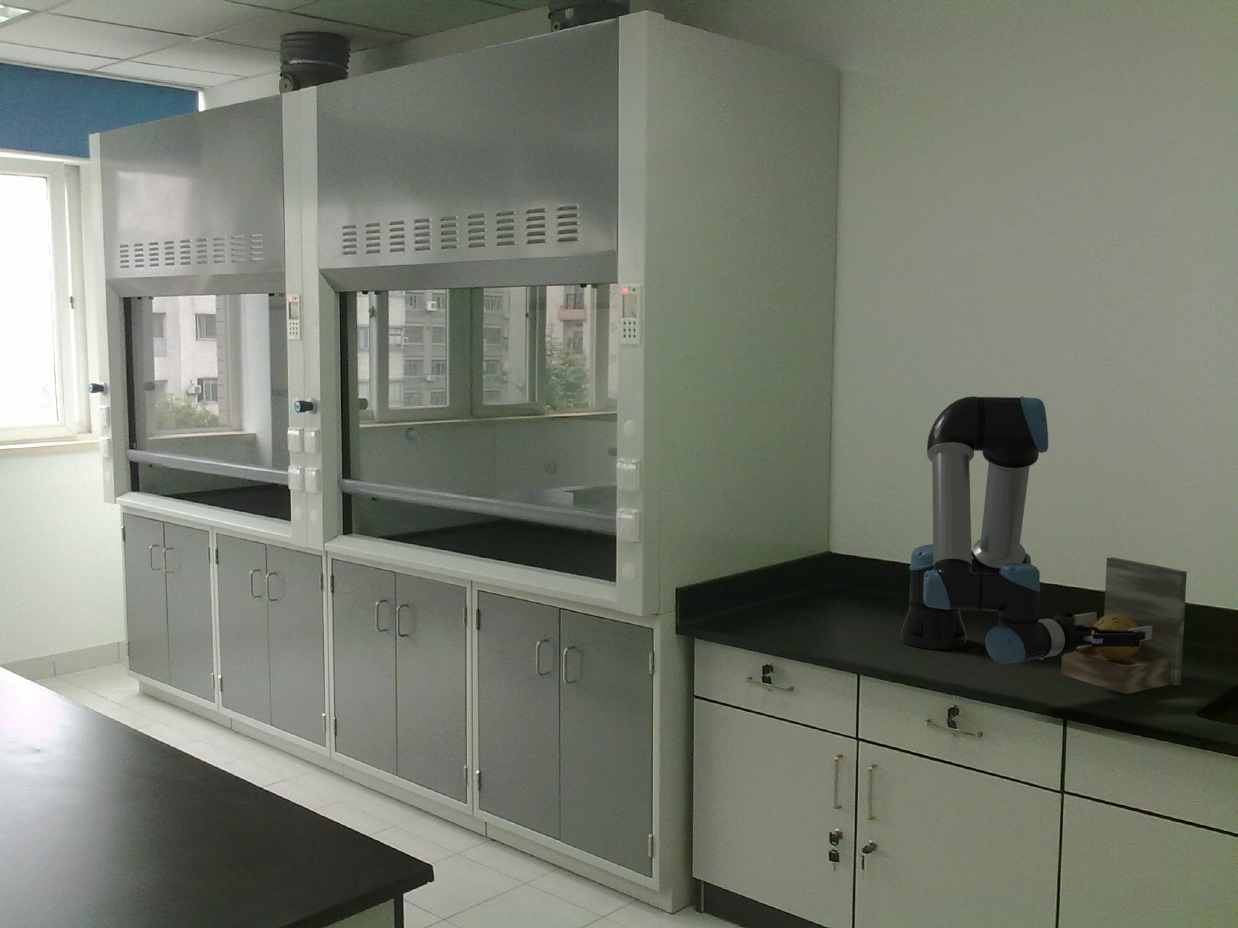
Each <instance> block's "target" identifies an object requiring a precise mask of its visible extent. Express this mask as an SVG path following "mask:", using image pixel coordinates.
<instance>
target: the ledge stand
mask: <svg viewBox="0 0 1238 928" xmlns="http://www.w3.org/2000/svg"><path fill="white" fill-rule="evenodd" d="M1105 568H1106V569H1105V587H1104V590H1105V591H1104V610H1103V611H1104V612H1103V616H1105V615H1109V614H1121V615H1124V616H1127V617H1129V618H1130V619H1132V620H1133V621H1134V622H1135V623H1136V624H1137V626H1138V627H1144V626H1152V639H1150V640H1145V641H1141V645H1140V648H1139V650H1138V651H1137V652H1136V654H1135V655H1133V656H1132V657H1131V658H1128V659H1126V660H1123V661H1122V662H1111V661H1109V660H1108V659H1107V658H1105V657H1103V656H1101V655H1100V654H1099V653H1098V652H1097V651H1096V650H1095V648H1094V647H1092V644H1085V645H1078V646H1077V648H1076V649H1075V650H1074V651H1073V652H1071V653H1068V654H1063V655H1061V671H1060V674H1061V675H1062V676H1064V677H1065V676H1066V677H1068V678H1072V679H1075V680H1078V681H1081V682H1085V683H1086V684H1091V685H1094V686H1098V687H1101V688H1104V689H1106V690H1110V691H1113V692H1116V693H1120V694H1123V695H1128V694H1133V693H1136V692H1137V693H1138V692H1143V691H1147V690H1151V689H1157V688H1161V687H1165V686H1173V687H1175V686H1181V683H1182V670H1183V669H1182V666H1183V648H1184V629H1185V615H1186V613H1185V610H1186V596H1187V595H1186V592H1187V576H1188V575H1187V573H1188V571H1186V570H1182V569H1176V568H1171V567H1165V566H1161V565H1156V564H1150V563H1147V562H1145V563H1144V562H1140V561H1134V560H1129V559H1124V558H1119V557H1114V556H1113V557H1112V556H1110V557H1107V558H1106V567H1105Z"/></svg>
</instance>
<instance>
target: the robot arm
mask: <svg viewBox="0 0 1238 928" xmlns="http://www.w3.org/2000/svg"><path fill="white" fill-rule="evenodd" d="M1045 407H1046V406H1045V403H1044V402H1043V401H1042V400H1041V398H1037V397H1026V396H1025V397H1024V396H1023V395H1022V396H1020V397H1007V396H1001V397H1000V396H975V395H972V396H966V397H962V398H959V399H957V400H954V402H952V403H950V404H949V405H947V407H945V408H944V409H943V410H942V411H941V413H940V414H939V415H938V416H937V418H936V419H935V421H934V423H933V425H932V427H931V429H930V432H929V433H928V434H929V435H928V437H927V445H926V446H927V447H926V451H927V452H926V454H927V455H926V456H927V459H928V461H930V462H931V463H932V464H931V465H932V466H931V467H932V476H931V477H932V481H931V482H932V543H931V544H925V545H921V546H918V547H915V548H914V550H912V551H911V555H910V565H909V571H910V576H909V577H910V579H909V582H910V583H909V601H908V605H909V606H908V611H907V613H906V616H905V619H904V621H903V624H902V627H901V631H900V641H901V642H902V643H904V644H906V645H908V646H912V647H916V648H923V649H928V650H954V649H960V648H963V647H965V646H966V645H967V632H966V631H967V630H966V628H965V624H964V622H963V618H962V614H961V610H966V611H967V610H969V611H980V612H981V611H983V612H984V611H985V612H986V611H987V612H998V618H997V619H998V623H997V624H998V625H996V626H994V627H992V628H990V629H989V630H988V632H987V634H986V636H985V641H984V643H985V649H986V651H987V653H988V654H989V656H990V657H991V659H992V660H993V661H995V662H997V663H998V664H1001V665H1002V664H1003V665H1006V664H1020V663H1024V662H1028V661H1033V660H1040V661H1043V660H1044V658H1049V657H1054V656H1064V654H1068V653H1071V652H1073V651H1074V650H1075V649H1076V648H1077V647H1079V646H1084V645H1090V644H1092V647H1095V648H1097V647H1114V646H1130V647H1131V648H1133V647H1134V646H1136V647H1138V646H1140V641H1145V640H1150V639H1152V626H1144V627H1138V628H1132V629H1128V631H1122V630H1102V629H1098V628H1097V627H1093V626H1094V624H1095V623H1096V621H1097V620H1098V618H1097V617H1098V616H1097V614H1098V612H1094V611H1093V612H1088V613H1079V614H1073V612H1072V611H1066V612H1065V616H1064V614H1062V613H1057V614H1055V615H1054V616H1052V617H1049V618H1042V619H1039V614H1040V613H1039V612H1040V611H1039V610H1040V594H1041V578H1040V577H1041V576H1040V573H1041V572H1040V569H1039V568H1038V567H1037V566H1035V565H1033V564H1032V559H1031V556H1030V554H1029V553H1026V549H1025V548H1024V546H1023V545H1022V544H1021V539H1022V538H1021V536H1022V532H1023V531H1022V530H1023V523H1024V522H1023V521H1024V513H1025V506H1026V499H1027V498H1026V497H1027V490H1028V489H1027V488H1028V482H1029V473H1030V468H1031V466H1033V465H1034V464H1036V462H1037V461H1038V459H1039V454H1040V453H1041V454H1043V453H1046V452H1048V450H1049V431H1048V430H1049V429H1048V420H1047V419H1048V418H1047V412H1046V411H1047V410H1046V408H1045ZM979 451H980V452H982V456H983V458H984V459H985V461H987V462H988V466H987V477H986V485H985V486H986V487H985V494H984V495H985V496H984V497H985V498H984V505H983V515H982V526H981V535H980V539H978V540H976V542H974V544H973V548H972V519H971V511H972V510H971V484H970V482H971V481H970V479H971V477H970V476H971V475H970V462H971V461H972V460H973V458H974V456H975V452H979ZM1091 630H1094V634H1093V636H1091Z"/></svg>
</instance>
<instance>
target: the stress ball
mask: <svg viewBox="0 0 1238 928" xmlns="http://www.w3.org/2000/svg"><path fill="white" fill-rule="evenodd" d="M1092 627H1097V628H1098V629H1102V630H1122V631H1128V629H1132V628H1138V626H1137V624H1136V623H1135V622H1134V621H1133V620H1132V619H1130V618H1129V617H1127V616H1124V615H1121V614H1109V615H1105V616H1104V615H1103V616H1101V617H1100V618H1099V619H1097V621H1096V623H1095V624H1094V626H1092ZM1093 634H1094V630H1091V636H1093ZM1140 645H1141V641H1140ZM1094 648H1095V647H1094ZM1139 648H1140V646H1138V647H1136V646H1134V647H1133V648H1131V647H1130V646H1114V647H1097V648H1095V650H1096V651H1097V652H1098V653H1099V654H1100V655H1101V656H1103V657H1105V658H1107V659H1108V660H1109V661H1111V662H1122V661H1123V660H1126V659H1128V658H1131V657H1132V656H1133V655H1135V654H1136V652H1137V651H1138V650H1139Z"/></svg>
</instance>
